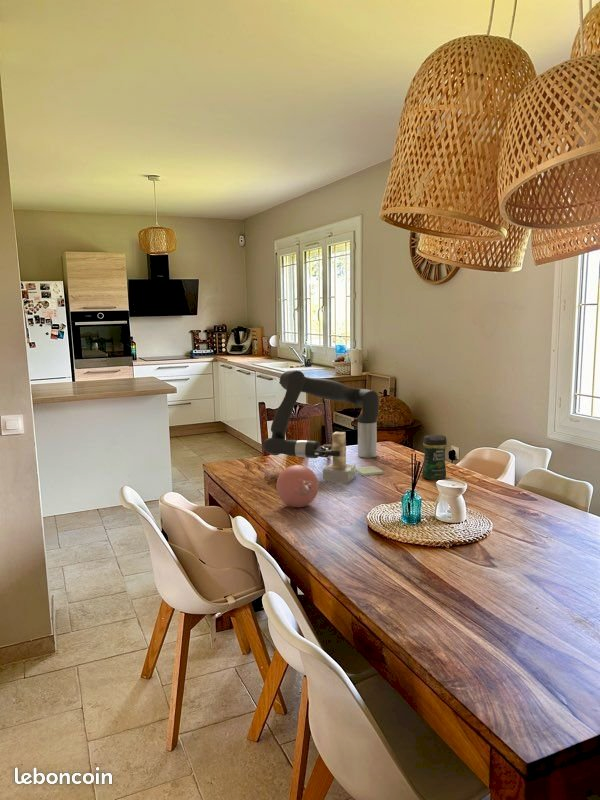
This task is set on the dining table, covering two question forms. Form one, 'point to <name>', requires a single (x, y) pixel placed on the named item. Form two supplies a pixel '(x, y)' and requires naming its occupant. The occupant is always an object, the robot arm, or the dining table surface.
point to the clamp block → (339, 474)
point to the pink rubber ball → (297, 486)
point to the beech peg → (339, 449)
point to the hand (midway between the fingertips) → (342, 451)
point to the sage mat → (369, 470)
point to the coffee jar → (434, 457)
